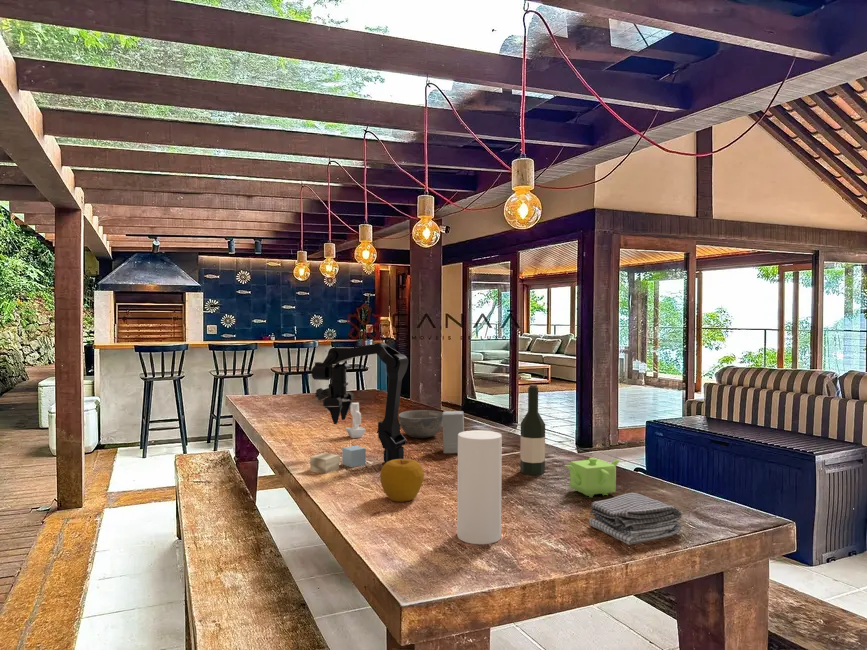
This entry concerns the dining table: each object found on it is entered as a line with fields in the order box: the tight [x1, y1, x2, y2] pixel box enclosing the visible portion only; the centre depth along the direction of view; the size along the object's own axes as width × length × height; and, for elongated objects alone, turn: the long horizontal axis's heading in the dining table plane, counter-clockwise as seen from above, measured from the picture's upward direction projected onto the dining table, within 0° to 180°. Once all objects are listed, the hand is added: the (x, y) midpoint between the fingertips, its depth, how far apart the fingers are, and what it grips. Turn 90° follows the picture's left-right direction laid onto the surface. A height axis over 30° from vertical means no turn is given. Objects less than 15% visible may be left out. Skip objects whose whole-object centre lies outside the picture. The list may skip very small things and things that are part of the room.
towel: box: [588, 492, 682, 546], centre depth 150 cm, size 15×18×8 cm
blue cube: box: [341, 444, 367, 468], centre depth 213 cm, size 6×6×6 cm
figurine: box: [345, 402, 367, 439], centre depth 260 cm, size 7×9×15 cm
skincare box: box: [442, 410, 465, 454], centre depth 232 cm, size 8×7×16 cm
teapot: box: [564, 457, 621, 498], centre depth 181 cm, size 15×13×11 cm
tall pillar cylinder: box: [456, 429, 503, 545], centre depth 145 cm, size 11×11×25 cm
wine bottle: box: [519, 384, 546, 476], centre depth 204 cm, size 8×8×30 cm
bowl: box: [398, 409, 443, 439], centre depth 262 cm, size 21×21×10 cm
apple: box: [379, 458, 425, 503], centre depth 174 cm, size 13×13×11 cm
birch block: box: [309, 452, 340, 475], centre depth 205 cm, size 7×7×5 cm
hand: (339, 421), depth 223 cm, fingers open, 9 cm apart
